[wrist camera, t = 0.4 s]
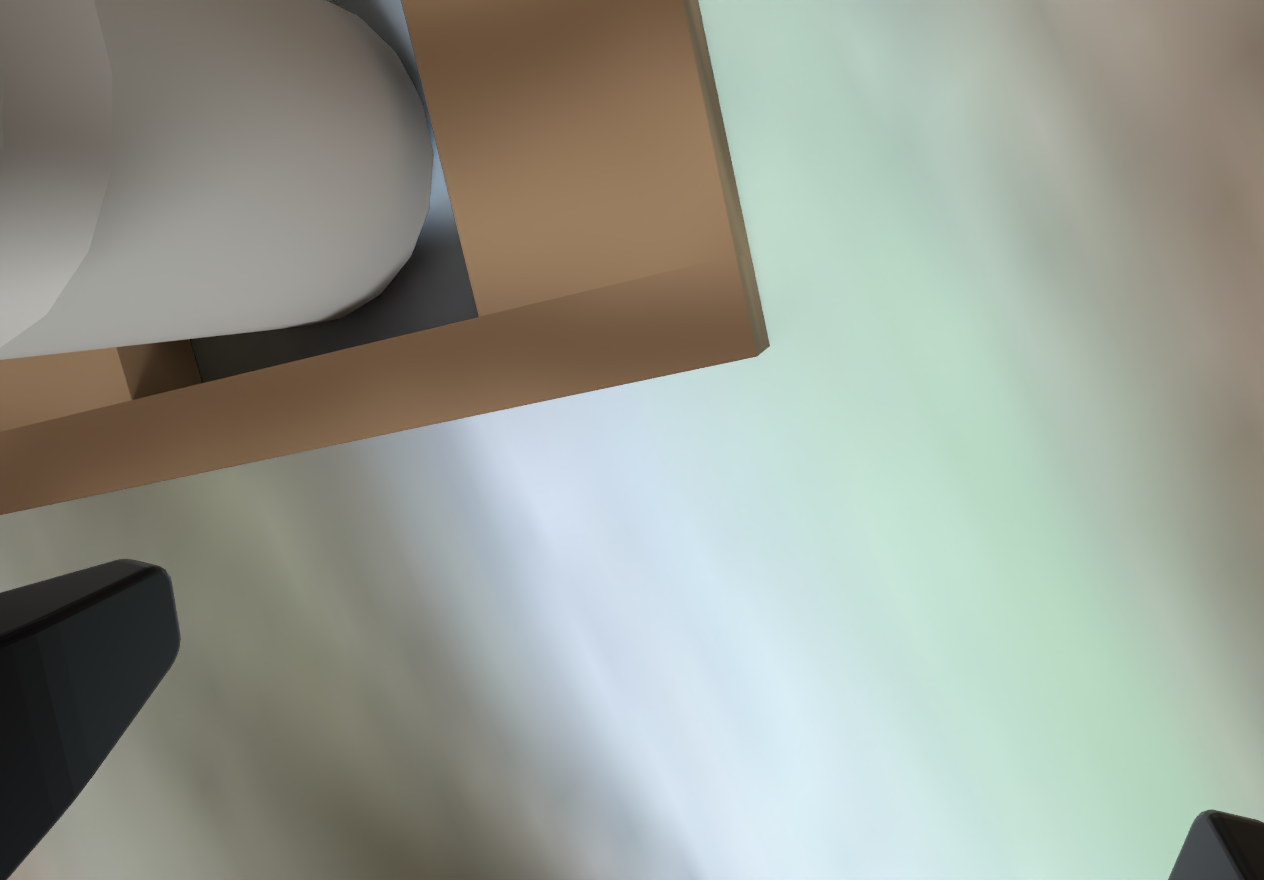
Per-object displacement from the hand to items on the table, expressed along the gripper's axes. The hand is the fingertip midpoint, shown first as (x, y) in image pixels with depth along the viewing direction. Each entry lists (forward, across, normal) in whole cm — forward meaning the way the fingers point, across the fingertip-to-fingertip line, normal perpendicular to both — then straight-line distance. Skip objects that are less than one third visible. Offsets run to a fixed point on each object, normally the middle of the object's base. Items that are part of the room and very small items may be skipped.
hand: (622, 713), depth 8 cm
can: (+15, +12, -1) cm, 19 cm away
